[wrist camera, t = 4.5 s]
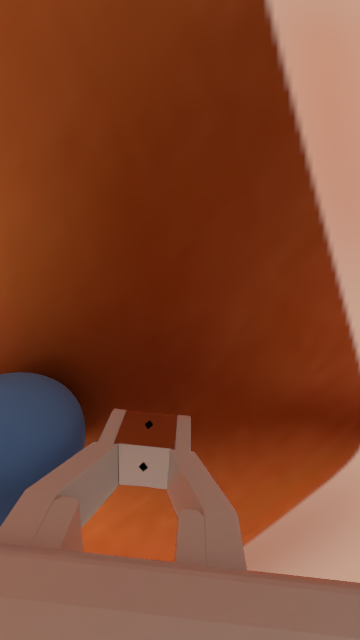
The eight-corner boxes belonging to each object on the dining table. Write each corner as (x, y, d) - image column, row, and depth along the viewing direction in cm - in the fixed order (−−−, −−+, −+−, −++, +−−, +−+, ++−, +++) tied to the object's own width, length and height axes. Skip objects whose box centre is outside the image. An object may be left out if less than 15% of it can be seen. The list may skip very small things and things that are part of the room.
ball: (-13, 343, 10) (-202, 437, 5) (103, 356, 10) (20, 464, 5) (4, 435, 11) (-128, 571, 7) (104, 447, 11) (42, 593, 7)
